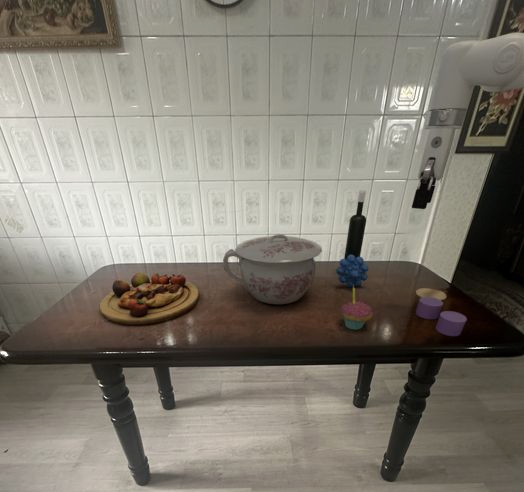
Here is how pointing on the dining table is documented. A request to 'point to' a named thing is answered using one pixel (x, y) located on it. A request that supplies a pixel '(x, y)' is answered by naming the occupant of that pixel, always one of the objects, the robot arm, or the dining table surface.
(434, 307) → the purple cylinder
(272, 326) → the dining table surface
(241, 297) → the dining table surface
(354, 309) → the cupcake
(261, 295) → the chamber pot
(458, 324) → the short purple cylinder
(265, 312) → the dining table surface
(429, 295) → the coaster
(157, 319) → the wooden plate
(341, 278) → the grapes
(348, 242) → the wine bottle
